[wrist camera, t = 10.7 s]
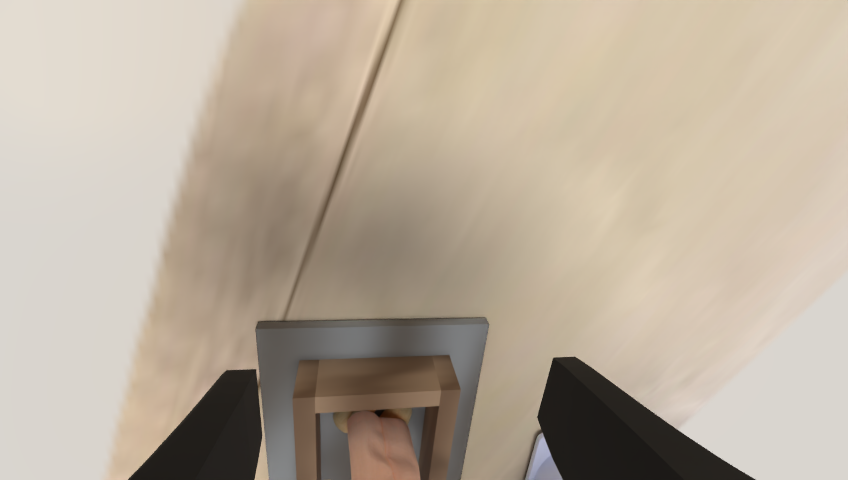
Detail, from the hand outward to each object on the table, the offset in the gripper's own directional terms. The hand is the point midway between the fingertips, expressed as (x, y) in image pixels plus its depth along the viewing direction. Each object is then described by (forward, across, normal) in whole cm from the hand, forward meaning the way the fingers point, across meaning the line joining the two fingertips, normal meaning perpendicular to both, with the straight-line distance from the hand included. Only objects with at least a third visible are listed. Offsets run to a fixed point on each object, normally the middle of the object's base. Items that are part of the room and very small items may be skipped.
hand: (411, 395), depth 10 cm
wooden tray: (+10, 0, +13) cm, 17 cm away
